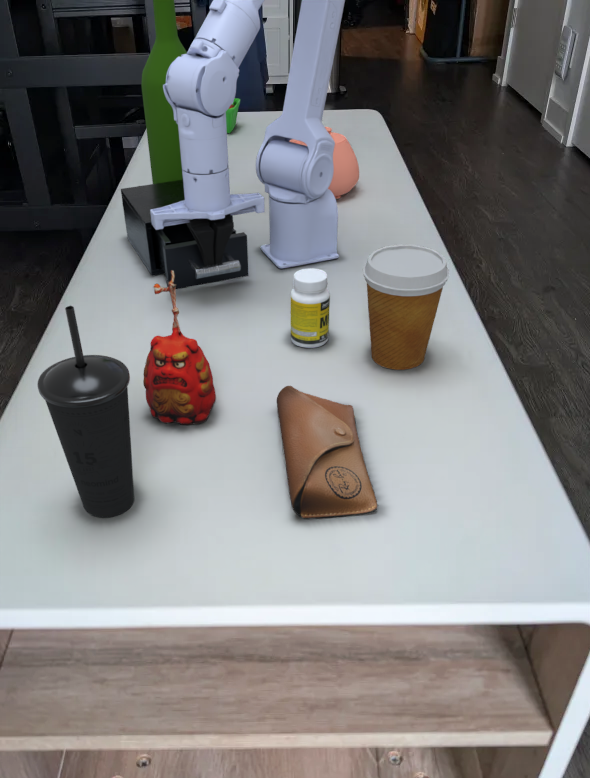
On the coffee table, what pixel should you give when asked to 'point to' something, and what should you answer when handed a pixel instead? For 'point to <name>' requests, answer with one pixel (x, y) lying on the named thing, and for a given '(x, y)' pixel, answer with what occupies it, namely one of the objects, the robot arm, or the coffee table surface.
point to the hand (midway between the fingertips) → (212, 272)
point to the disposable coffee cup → (403, 302)
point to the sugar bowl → (341, 165)
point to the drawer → (197, 257)
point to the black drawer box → (148, 216)
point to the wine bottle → (162, 96)
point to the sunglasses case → (323, 457)
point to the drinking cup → (92, 425)
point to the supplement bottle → (310, 308)
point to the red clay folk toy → (178, 375)
